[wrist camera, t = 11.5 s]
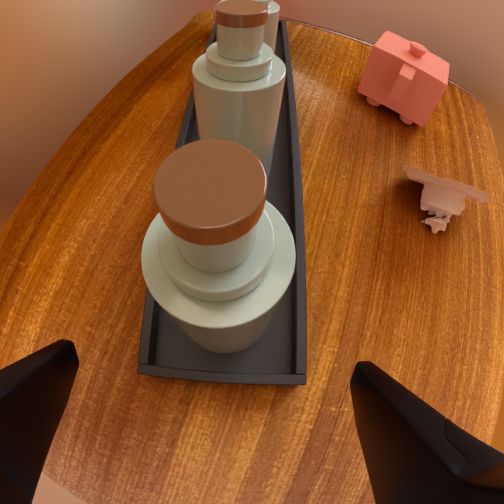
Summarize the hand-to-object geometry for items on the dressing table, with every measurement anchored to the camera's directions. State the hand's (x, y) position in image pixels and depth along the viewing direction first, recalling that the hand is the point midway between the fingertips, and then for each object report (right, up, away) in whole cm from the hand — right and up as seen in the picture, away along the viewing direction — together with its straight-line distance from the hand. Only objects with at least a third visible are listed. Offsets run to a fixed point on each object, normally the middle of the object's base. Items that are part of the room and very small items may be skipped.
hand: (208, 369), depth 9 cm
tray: (0, +15, +17) cm, 23 cm away
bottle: (0, 0, +10) cm, 10 cm away
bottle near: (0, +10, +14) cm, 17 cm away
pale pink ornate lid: (+17, +8, +15) cm, 24 cm away
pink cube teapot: (+17, +21, +21) cm, 34 cm away
